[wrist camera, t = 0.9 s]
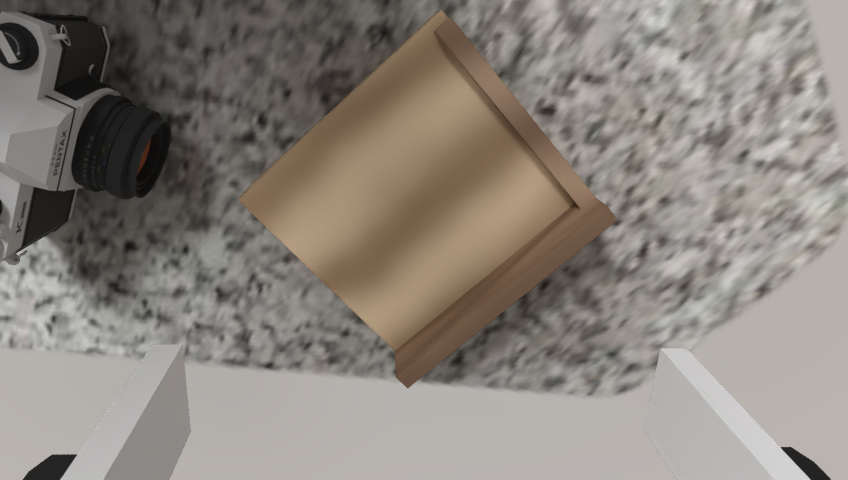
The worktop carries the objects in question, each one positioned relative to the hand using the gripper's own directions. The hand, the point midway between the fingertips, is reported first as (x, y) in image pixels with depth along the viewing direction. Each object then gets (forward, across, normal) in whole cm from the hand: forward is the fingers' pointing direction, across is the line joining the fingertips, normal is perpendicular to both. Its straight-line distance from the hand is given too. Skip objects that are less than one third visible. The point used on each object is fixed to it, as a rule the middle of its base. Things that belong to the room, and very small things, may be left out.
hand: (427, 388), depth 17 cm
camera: (+22, -17, +2) cm, 28 cm away
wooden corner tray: (+22, +1, 0) cm, 22 cm away
